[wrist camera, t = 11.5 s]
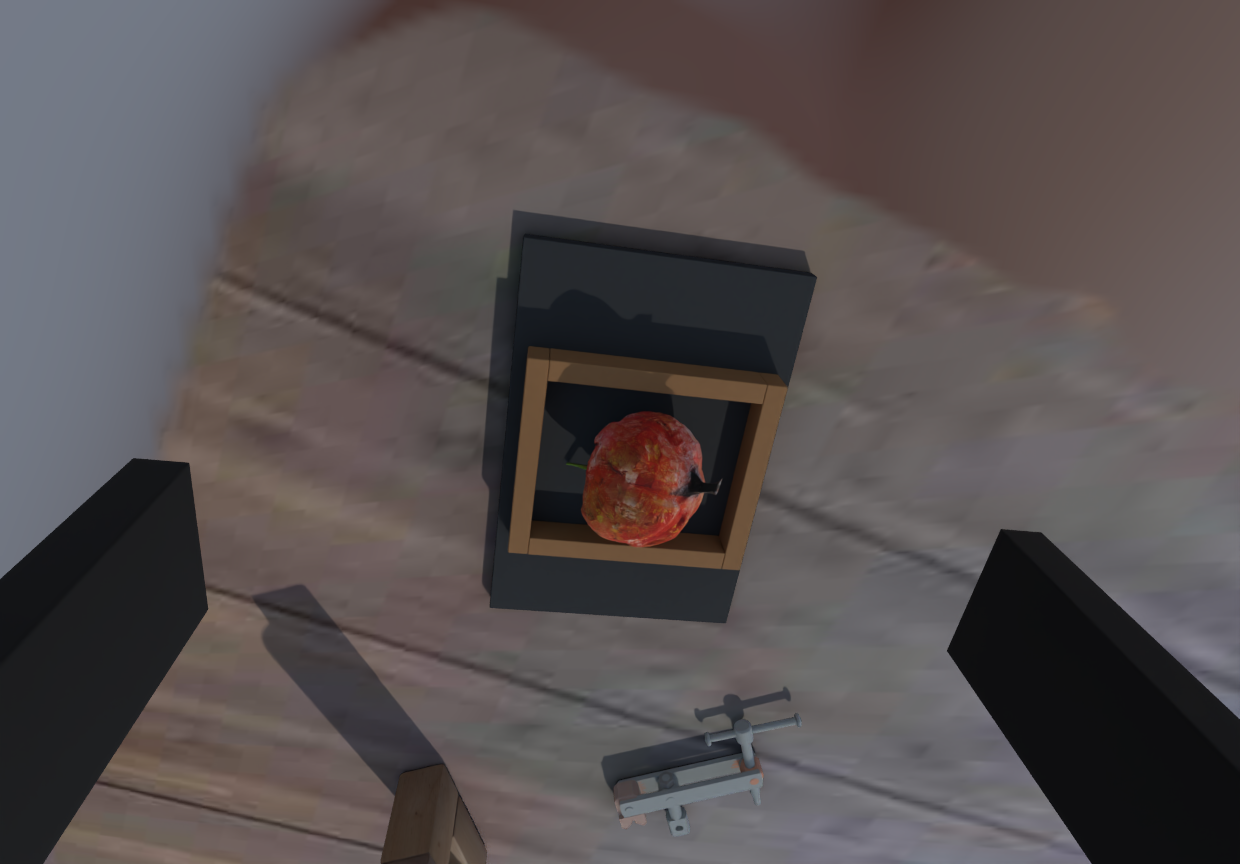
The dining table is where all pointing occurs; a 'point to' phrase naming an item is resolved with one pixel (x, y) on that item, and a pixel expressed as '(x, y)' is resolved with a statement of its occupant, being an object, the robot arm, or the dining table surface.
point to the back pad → (630, 383)
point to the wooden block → (430, 822)
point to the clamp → (695, 780)
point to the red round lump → (643, 480)
